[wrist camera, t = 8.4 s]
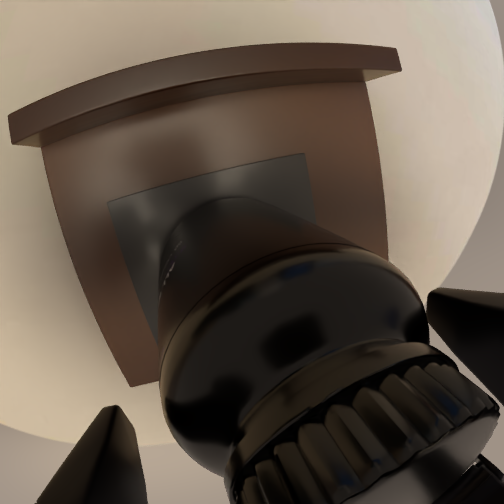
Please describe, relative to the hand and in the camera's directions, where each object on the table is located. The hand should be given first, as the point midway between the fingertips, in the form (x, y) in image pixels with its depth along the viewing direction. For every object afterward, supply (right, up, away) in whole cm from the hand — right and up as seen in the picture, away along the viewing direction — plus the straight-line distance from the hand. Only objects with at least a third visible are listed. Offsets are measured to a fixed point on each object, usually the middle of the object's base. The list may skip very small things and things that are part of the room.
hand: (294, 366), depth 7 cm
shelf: (-2, +5, +8) cm, 9 cm away
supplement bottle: (-2, +2, +7) cm, 8 cm away
